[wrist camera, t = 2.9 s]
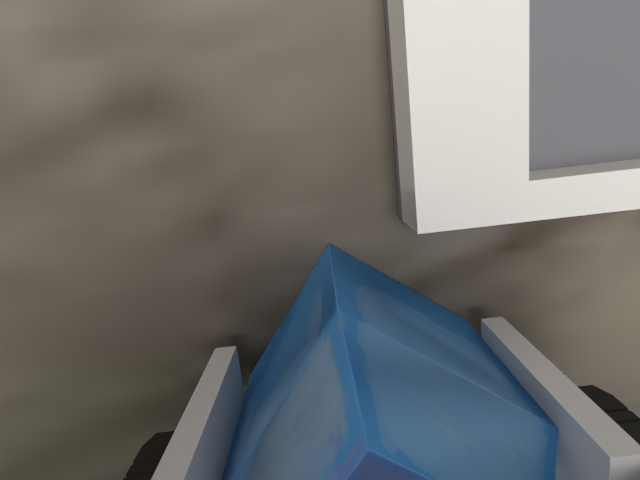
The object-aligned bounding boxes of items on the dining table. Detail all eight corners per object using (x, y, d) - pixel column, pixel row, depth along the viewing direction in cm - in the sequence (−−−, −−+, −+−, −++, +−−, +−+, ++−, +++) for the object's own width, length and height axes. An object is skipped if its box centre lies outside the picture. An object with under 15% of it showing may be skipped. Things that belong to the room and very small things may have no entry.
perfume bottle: (466, 320, 16) (880, 807, 4) (382, 440, 17) (524, 1075, 5) (328, 243, 15) (372, 578, 4) (250, 374, 16) (88, 949, 5)
